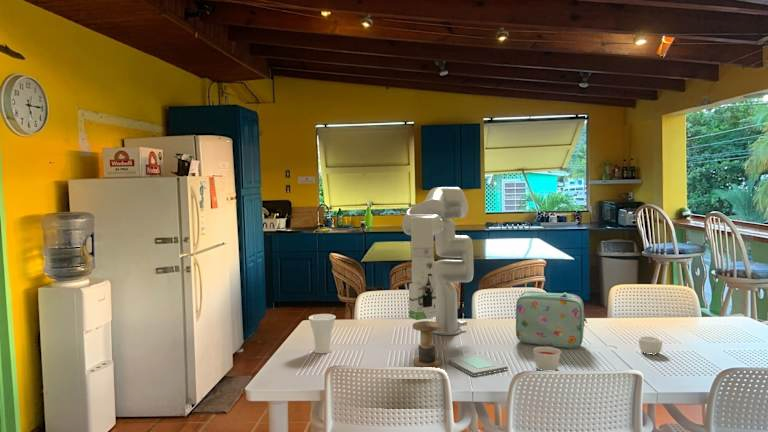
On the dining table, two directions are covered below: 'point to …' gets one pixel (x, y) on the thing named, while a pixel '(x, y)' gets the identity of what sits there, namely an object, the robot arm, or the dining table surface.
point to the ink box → (420, 303)
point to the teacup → (650, 344)
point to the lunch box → (550, 319)
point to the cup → (322, 331)
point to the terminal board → (477, 364)
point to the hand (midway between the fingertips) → (423, 304)
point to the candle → (547, 358)
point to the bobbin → (426, 344)
